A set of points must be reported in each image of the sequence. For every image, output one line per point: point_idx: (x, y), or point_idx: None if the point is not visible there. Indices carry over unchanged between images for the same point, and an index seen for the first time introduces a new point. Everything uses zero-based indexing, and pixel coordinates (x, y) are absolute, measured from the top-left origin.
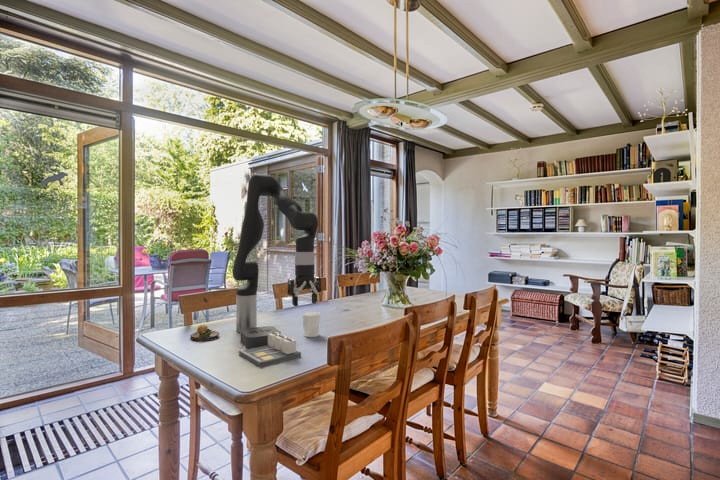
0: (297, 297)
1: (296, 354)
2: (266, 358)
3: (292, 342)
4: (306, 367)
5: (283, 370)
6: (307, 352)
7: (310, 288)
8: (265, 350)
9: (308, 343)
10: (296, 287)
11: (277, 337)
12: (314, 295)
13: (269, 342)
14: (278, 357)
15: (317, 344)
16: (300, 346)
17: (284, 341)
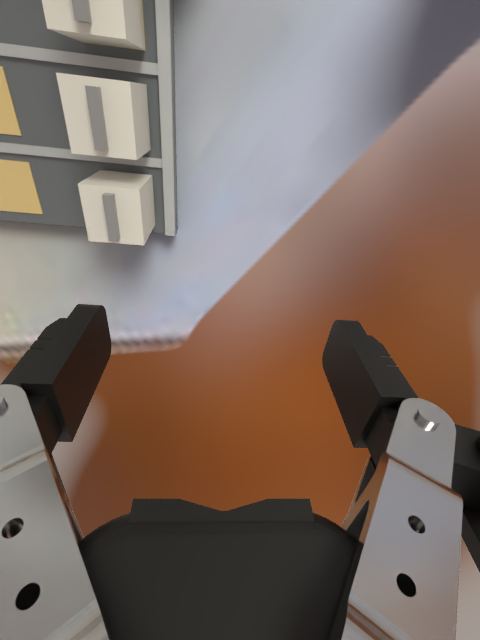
0: (69, 432)
1: (154, 230)
2: (3, 194)
3: (123, 241)
4: (136, 321)
5: (57, 296)
6: (232, 205)
7: (359, 516)
8: (26, 58)
9: (339, 78)
10: (6, 552)
11: (69, 108)
12: (350, 430)
13: None
14: (62, 218)
15: (352, 139)
16: (270, 92)
17: (83, 213)
